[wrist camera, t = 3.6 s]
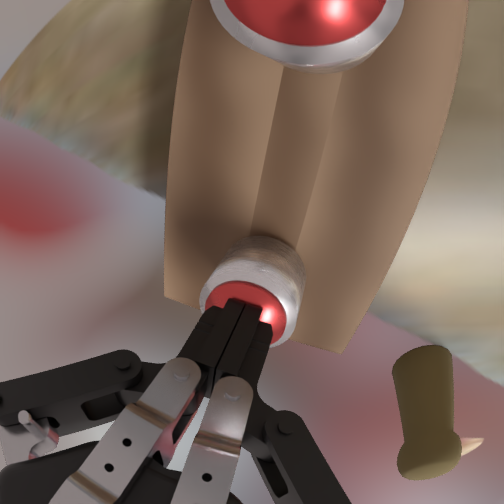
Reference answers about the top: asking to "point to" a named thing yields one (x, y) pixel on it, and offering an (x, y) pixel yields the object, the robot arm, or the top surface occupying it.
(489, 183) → the top surface
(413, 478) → the cork
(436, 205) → the top surface
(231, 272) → the knob
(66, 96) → the top surface
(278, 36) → the knob
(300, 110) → the console
